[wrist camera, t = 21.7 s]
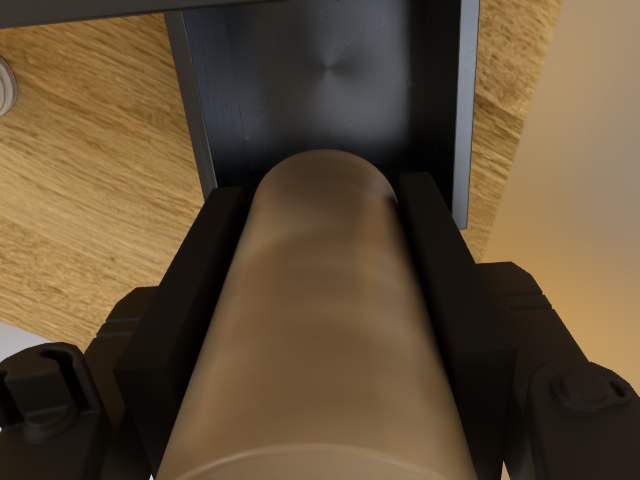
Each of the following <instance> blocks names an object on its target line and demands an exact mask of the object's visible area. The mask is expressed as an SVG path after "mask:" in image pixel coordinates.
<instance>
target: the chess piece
mask: <svg viewBox="0 0 640 480" xmlns="http://www.w3.org/2000/svg"><path fill="white" fill-rule="evenodd" d="M16 98H17V84H16V80H15V77H14V75H13V73H12V71H11V69H10V67H9V66H8V64H7V63H6V62H5V61H4V59H3V58H2V57H0V116H1V115H3V114H5V113H6V112H8V111H9V110H10V109H11V108H12V107H13V105H14V104H15V101H16Z"/></svg>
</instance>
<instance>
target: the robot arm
mask: <svg viewBox="0 0 640 480" xmlns="http://www.w3.org/2000/svg"><path fill="white" fill-rule="evenodd" d="M399 195H400V213H401V216H402V220H403V223H404V226H405V230H406V233H407V237H408V240H409V244H410V247H411V251H412V254H413V258H414V261H415V264H416V268H417V271H418V275H419V278H420V282H421V285H422V289H423V292H424V295H425V299H426V302H427V306H428V309H429V313H430V316H431V320H432V323H433V326H434V330H435V333H436V337H437V340H438V344H439V347H440V351H441V354H442V358H443V361H444V364H445V368H446V371H447V375H448V378H449V382H450V385H451V389H452V392H453V395H454V399H455V402H456V406H457V409H458V413H459V416H460V420H461V423H462V426H463V430H464V433H465V437H466V440H467V444H468V447H469V451H470V454H471V458H472V461H473V464H474V468H475V471H476V475H477V478H478V480H501V474H502V467H503V460H504V463H505V466H506V469H507V472H508V474H509V477H510V480H640V397H639V396H638V395H637V394H636V392H635V391H634V389H633V388H632V387H631V385H630V384H629V383H628V382H627V381H625V380H624V379H623V378H621V377H620V376H619V375H617V374H616V373H615V372H613V371H612V370H609V369H607V368H605V367H602V366H600V365H597V364H595V363H593V362H589V361H588V360H587V358H586V356H585V355H584V354H583V352H582V350H581V349H580V347H579V346H578V344H577V343H576V341H575V340H574V338H573V337H572V335H571V334H570V332H569V331H568V329H567V328H566V326H565V325H564V323H563V322H562V320H561V319H560V317H559V316H558V314H557V313H556V311H555V310H554V309H552V305H551V304H550V303H549V301H548V299H547V298H546V296H545V295H543V294H542V290H541V289H540V287H539V286H538V284H537V283H536V281H535V280H534V278H533V277H532V275H531V274H529V273H528V272H526V271H525V270H523V269H522V268H520V267H519V266H517V265H516V264H514V263H513V262H496V263H480V264H476V263H475V261H474V259H473V257H472V255H471V253H470V251H469V249H468V247H467V245H466V243H465V241H464V239H463V237H462V235H461V233H460V231H459V229H458V227H457V225H456V223H455V221H454V219H453V217H452V215H451V213H450V211H449V209H448V207H447V205H446V203H445V201H444V199H443V197H442V195H441V193H440V191H439V189H438V187H437V185H436V183H435V181H434V179H433V177H432V175H431V173H430V172H420V173H407V174H399ZM246 218H247V212H246V206H245V200H244V195H243V189H242V186H237V187H224V188H213V189H212V190H211V192H210V194H209V196H208V198H207V199H206V201H205V203H204V205H203V207H202V209H201V210H200V212H199V214H198V216H197V218H196V219H195V221H194V223H193V225H192V227H191V228H190V230H189V232H188V234H187V236H186V237H185V239H184V241H183V243H182V245H181V246H180V248H179V250H178V252H177V254H176V255H175V257H174V259H173V261H172V263H171V264H170V266H169V268H168V270H167V272H166V273H165V275H164V277H163V279H162V281H161V283H160V284H159V286H153V287H137V288H135V289H134V290H133V291H131V292H130V293H129V294H127V295H126V296H125V297H124V298H122V299H121V300H120V301H119V302H117V303H116V305H115V307H114V308H113V310H112V311H111V313H110V314H109V316H108V317H107V319H106V323H103V325H102V326H101V328H100V330H99V331H98V333H97V334H96V335H97V337H96V338H94V339H93V340H92V342H91V343H90V345H89V346H88V348H87V349H86V351H85V353H84V354H83V353H82V352H81V351H80V349H79V348H78V347H77V346H76V345H72V344H69V343H65V342H55V343H44V344H41V345H37V346H33V347H30V348H26V349H24V350H22V351H20V352H18V353H16V354H14V355H12V356H10V357H8V358H6V359H4V360H3V361H2V362H0V427H1V428H2V430H1V432H0V480H149V479H150V476H151V474H152V477H153V480H155V479H156V476H157V473H158V470H159V467H160V465H161V462H162V459H163V456H164V453H165V450H166V447H167V444H168V442H169V439H170V436H171V433H172V430H173V427H174V424H175V422H176V419H177V416H178V413H179V410H180V407H181V404H182V401H183V399H184V396H185V393H186V390H187V387H188V384H189V381H190V378H191V376H192V373H193V370H194V367H195V364H196V361H197V358H198V356H199V353H200V350H201V347H202V344H203V341H204V338H205V335H206V333H207V330H208V327H209V324H210V321H211V318H212V315H213V313H214V310H215V307H216V304H217V301H218V298H219V295H220V292H221V290H222V287H223V284H224V281H225V278H226V275H227V272H228V270H229V267H230V264H231V261H232V258H233V255H234V252H235V249H236V247H237V244H238V241H239V238H240V235H241V232H242V229H243V227H244V224H245V221H246Z"/></svg>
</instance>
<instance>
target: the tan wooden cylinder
mask: <svg viewBox="0 0 640 480" xmlns="http://www.w3.org/2000/svg"><path fill="white" fill-rule="evenodd" d="M155 480H478V478H477V475H476V471H475V468H474V464H473V461H472V458H471V454H470V451H469V447H468V444H467V440H466V437H465V433H464V430H463V426H462V423H461V420H460V416H459V413H458V409H457V406H456V402H455V399H454V395H453V392H452V389H451V385H450V382H449V378H448V375H447V371H446V368H445V364H444V361H443V358H442V354H441V351H440V347H439V344H438V340H437V337H436V333H435V330H434V326H433V323H432V320H431V316H430V313H429V309H428V306H427V302H426V299H425V295H424V292H423V289H422V285H421V282H420V278H419V275H418V271H417V268H416V264H415V261H414V258H413V254H412V251H411V247H410V244H409V240H408V237H407V233H406V230H405V226H404V223H403V220H402V216H401V213H400V209H399V206H398V202H397V199H396V196H395V194H394V191H393V189H392V187H391V185H390V184H389V182H388V180H387V179H386V178H385V177H384V175H383V174H382V173H381V172H380V171H379V170H378V169H377V168H376V167H375V166H373V165H372V164H371V163H369V162H368V161H366V160H364V159H362V158H361V157H359V156H356V155H354V154H351V153H348V152H344V151H340V150H333V149H316V150H309V151H305V152H301V153H298V154H295V155H293V156H291V157H288V158H287V159H285V160H283V161H281V162H280V163H279V164H277V165H276V166H275V167H273V168H272V169H271V170H270V171H269V172H268V173H267V174H266V176H265V177H264V178H263V180H262V181H261V182H260V184H259V186H258V188H257V190H256V192H255V195H254V198H253V201H252V204H251V206H250V209H249V212H248V215H247V218H246V221H245V224H244V227H243V229H242V232H241V235H240V238H239V241H238V244H237V247H236V249H235V252H234V255H233V258H232V261H231V264H230V267H229V270H228V272H227V275H226V278H225V281H224V284H223V287H222V290H221V292H220V295H219V298H218V301H217V304H216V307H215V310H214V313H213V315H212V318H211V321H210V324H209V327H208V330H207V333H206V335H205V338H204V341H203V344H202V347H201V350H200V353H199V356H198V358H197V361H196V364H195V367H194V370H193V373H192V376H191V378H190V381H189V384H188V387H187V390H186V393H185V396H184V399H183V401H182V404H181V407H180V410H179V413H178V416H177V419H176V422H175V424H174V427H173V430H172V433H171V436H170V439H169V442H168V444H167V447H166V450H165V453H164V456H163V459H162V462H161V465H160V467H159V470H158V473H157V476H156V479H155Z"/></svg>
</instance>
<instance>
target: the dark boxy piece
mask: <svg viewBox="0 0 640 480" xmlns="http://www.w3.org/2000/svg"><path fill="white" fill-rule="evenodd" d="M479 11H480V0H291V1H281V2H270V3H260V4H250V5H240V6H230V7H220V8H210V9H199V10H189V11H179V12H169V13H164V18H165V22H166V27H167V31H168V36H169V41H170V45H171V50H172V54H173V59H174V64H175V68H176V73H177V77H178V82H179V86H180V91H181V96H182V100H183V105H184V109H185V114H186V119H187V123H188V128H189V132H190V137H191V142H192V146H193V151H194V155H195V160H196V165H197V169H198V174H199V178H200V183H201V188H202V192H203V197H204V201H206V199H207V198H208V196H209V194H210V192H211V190H212V189H213V188H224V187H237V186H242V189H243V195H244V200H245V206H246V212H247V215H248V212H249V209H250V206H251V204H252V201H253V198H254V195H255V192H256V190H257V188H258V186H259V184H260V182H261V181H262V180H263V178H264V177H265V176H266V174H267V173H268V172H269V171H270V170H271V169H272V168H273V167H275V166H276V165H277V164H279V163H280V162H281V161H283V160H285V159H287V158H288V157H291V156H293V155H295V154H298V153H301V152H305V151H309V150H316V149H333V150H340V151H344V152H348V153H351V154H354V155H356V156H359V157H361V158H362V159H364V160H366V161H368V162H369V163H371V164H372V165H373V166H375V167H376V168H377V169H378V170H379V171H380V172H381V173H382V174H383V175H384V177H385V178H386V179H387V180H388V182H389V184H390V185H391V187H392V189H393V191H394V194H395V196H396V199H397V202H398V206H399V209H400V195H399V174H407V173H420V172H430V173H431V175H432V177H433V179H434V181H435V183H436V185H437V187H438V189H439V191H440V193H441V195H442V197H443V199H444V201H445V203H446V205H447V207H448V209H449V211H450V213H451V215H452V217H453V219H454V221H455V223H456V225H457V227H458V229H459V230H461V229H467V219H468V202H469V185H470V167H471V150H472V133H473V115H474V98H475V80H476V63H477V46H478V28H479Z"/></svg>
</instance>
